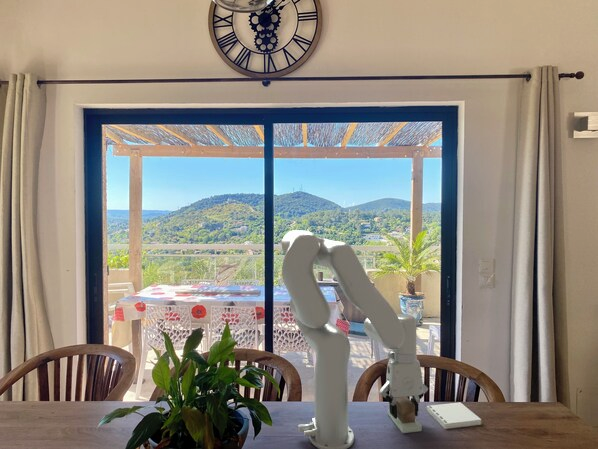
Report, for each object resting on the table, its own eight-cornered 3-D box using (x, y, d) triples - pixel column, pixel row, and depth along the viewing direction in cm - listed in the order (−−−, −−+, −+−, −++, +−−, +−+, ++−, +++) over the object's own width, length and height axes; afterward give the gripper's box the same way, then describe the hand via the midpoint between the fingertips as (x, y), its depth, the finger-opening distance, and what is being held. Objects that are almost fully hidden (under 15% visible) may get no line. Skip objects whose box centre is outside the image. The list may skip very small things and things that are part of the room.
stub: (402, 433, 98) (402, 410, 98) (387, 414, 108) (387, 393, 108) (421, 430, 99) (421, 408, 99) (405, 412, 109) (405, 391, 109)
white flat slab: (444, 428, 100) (444, 423, 100) (426, 410, 110) (426, 405, 110) (481, 424, 102) (481, 419, 102) (460, 406, 112) (460, 401, 112)
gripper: (381, 363, 98) (382, 425, 98) (436, 358, 101) (436, 419, 101) (371, 353, 106) (372, 411, 106) (423, 349, 109) (423, 405, 109)
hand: (403, 414), depth 104 cm, fingers open, 6 cm apart
